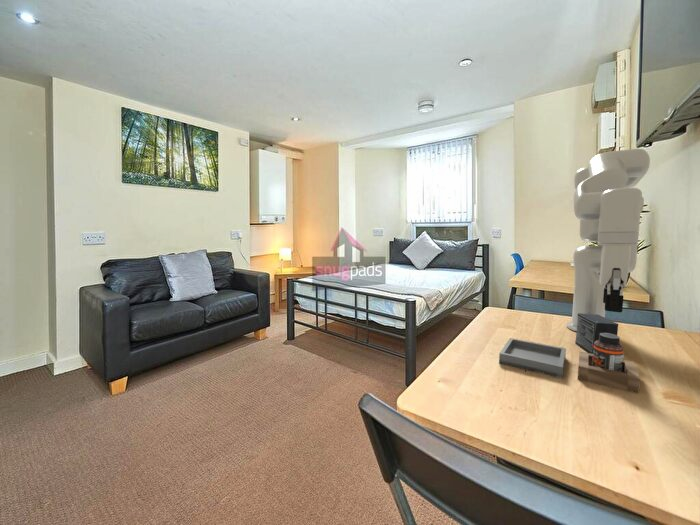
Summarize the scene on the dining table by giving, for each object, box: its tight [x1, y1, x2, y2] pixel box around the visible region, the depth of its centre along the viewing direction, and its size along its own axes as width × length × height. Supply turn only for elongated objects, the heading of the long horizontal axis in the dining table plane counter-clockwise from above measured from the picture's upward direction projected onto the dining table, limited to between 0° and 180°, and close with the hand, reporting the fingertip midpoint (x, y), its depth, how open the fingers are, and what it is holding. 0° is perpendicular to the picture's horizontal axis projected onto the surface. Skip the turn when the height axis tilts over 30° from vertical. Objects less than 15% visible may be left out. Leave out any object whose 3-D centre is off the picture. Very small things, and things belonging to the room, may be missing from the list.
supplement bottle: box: [592, 333, 624, 372], centre depth 79 cm, size 6×6×11 cm
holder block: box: [577, 351, 641, 394], centre depth 79 cm, size 12×12×4 cm
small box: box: [574, 313, 619, 354], centre depth 96 cm, size 11×6×10 cm, turn 168°
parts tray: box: [498, 337, 567, 379], centre depth 89 cm, size 15×15×3 cm
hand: (611, 307), depth 77 cm, fingers open, 9 cm apart
